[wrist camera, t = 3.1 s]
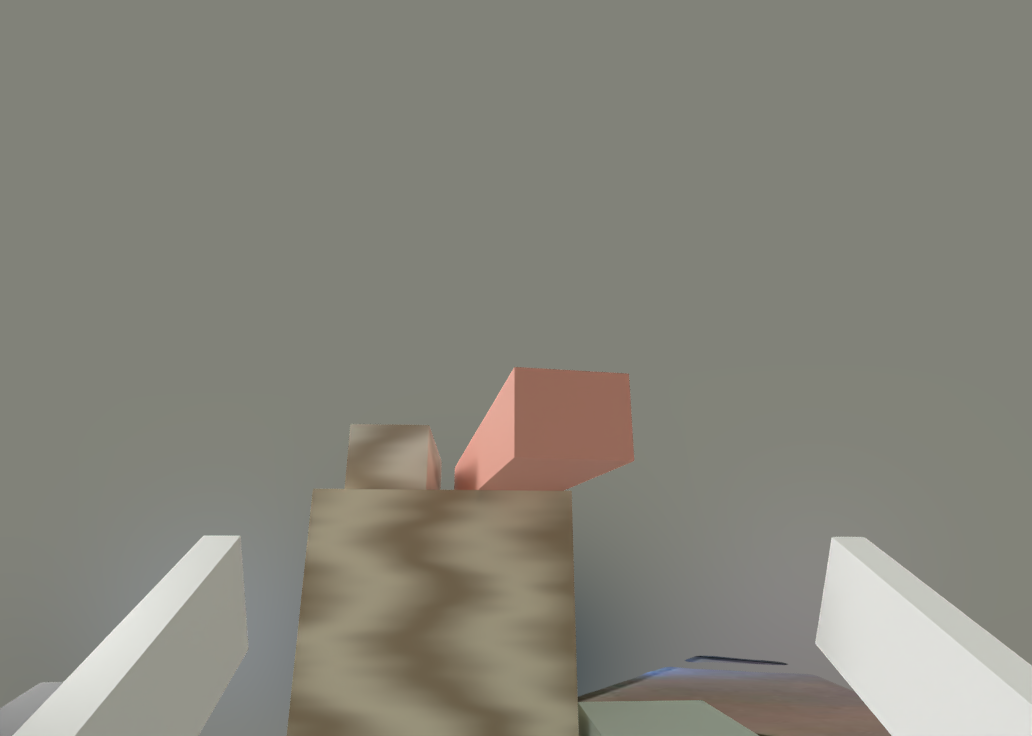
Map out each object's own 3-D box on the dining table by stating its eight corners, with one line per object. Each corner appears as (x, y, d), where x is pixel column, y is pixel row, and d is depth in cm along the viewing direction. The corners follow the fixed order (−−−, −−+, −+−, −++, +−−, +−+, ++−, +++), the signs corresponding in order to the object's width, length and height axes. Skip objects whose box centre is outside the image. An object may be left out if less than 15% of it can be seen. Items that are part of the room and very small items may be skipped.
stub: (514, 457, 19) (514, 367, 19) (453, 511, 40) (455, 467, 41) (634, 460, 19) (628, 373, 20) (511, 512, 41) (511, 469, 42)
